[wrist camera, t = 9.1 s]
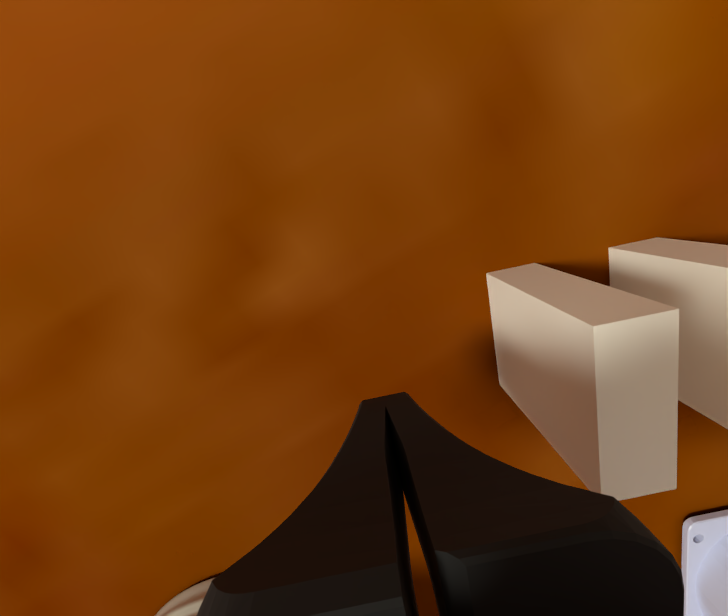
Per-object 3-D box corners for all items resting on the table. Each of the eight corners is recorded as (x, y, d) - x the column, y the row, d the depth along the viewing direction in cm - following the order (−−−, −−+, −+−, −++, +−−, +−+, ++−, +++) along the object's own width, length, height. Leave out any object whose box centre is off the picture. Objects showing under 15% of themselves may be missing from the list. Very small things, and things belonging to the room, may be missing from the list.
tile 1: (544, 375, 17) (676, 488, 10) (499, 384, 17) (601, 503, 10) (535, 263, 16) (679, 308, 9) (486, 273, 16) (592, 326, 9)
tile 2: (657, 351, 17) (864, 450, 10) (612, 360, 17) (789, 465, 10) (657, 237, 16) (895, 263, 9) (608, 247, 16) (808, 281, 9)
